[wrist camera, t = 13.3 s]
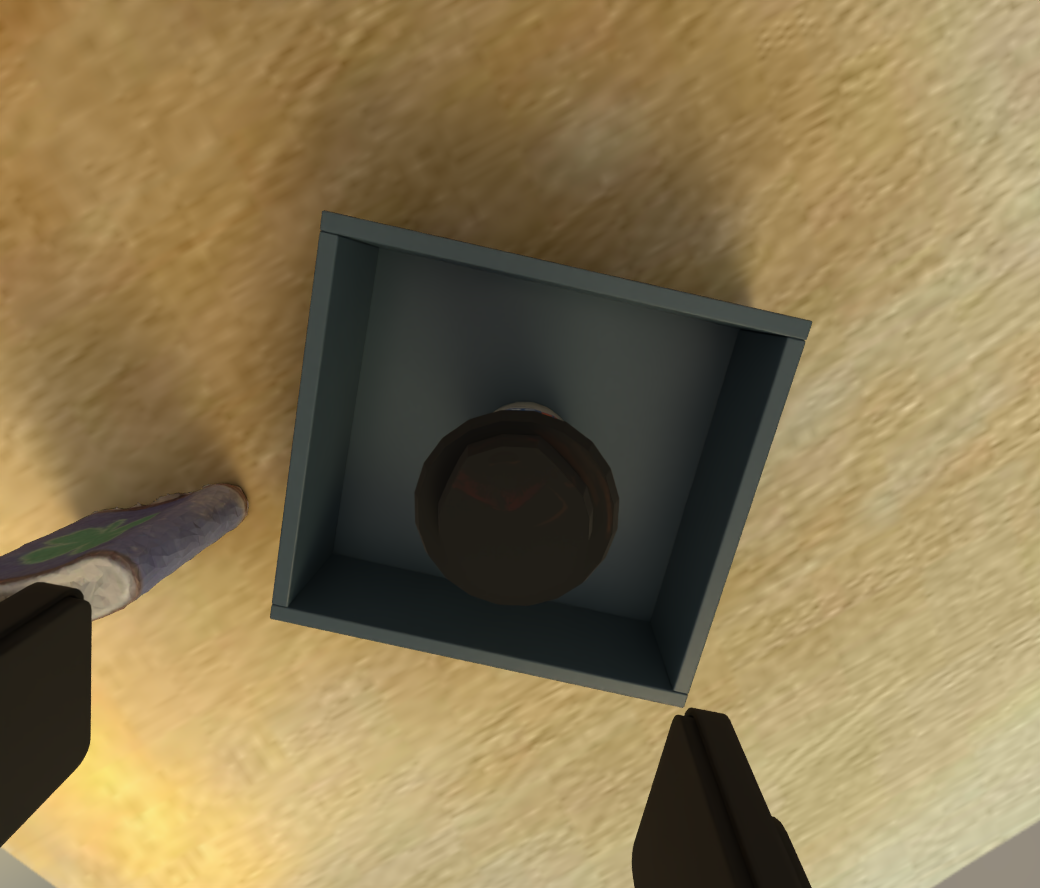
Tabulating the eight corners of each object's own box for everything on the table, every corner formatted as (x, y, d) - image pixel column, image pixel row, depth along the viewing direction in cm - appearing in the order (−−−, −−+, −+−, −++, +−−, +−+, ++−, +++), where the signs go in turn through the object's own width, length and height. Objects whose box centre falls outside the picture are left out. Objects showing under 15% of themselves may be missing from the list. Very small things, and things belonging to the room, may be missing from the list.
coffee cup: (605, 509, 29) (635, 615, 19) (463, 525, 29) (424, 637, 20) (589, 366, 27) (613, 404, 18) (439, 386, 28) (384, 433, 18)
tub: (370, 228, 27) (321, 209, 21) (754, 315, 27) (813, 321, 21) (321, 557, 31) (269, 619, 25) (657, 630, 31) (684, 708, 25)
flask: (241, 475, 30) (80, 571, 20) (261, 528, 31) (115, 649, 20) (75, 512, 31) (-164, 624, 20) (97, 564, 31) (-123, 697, 21)
